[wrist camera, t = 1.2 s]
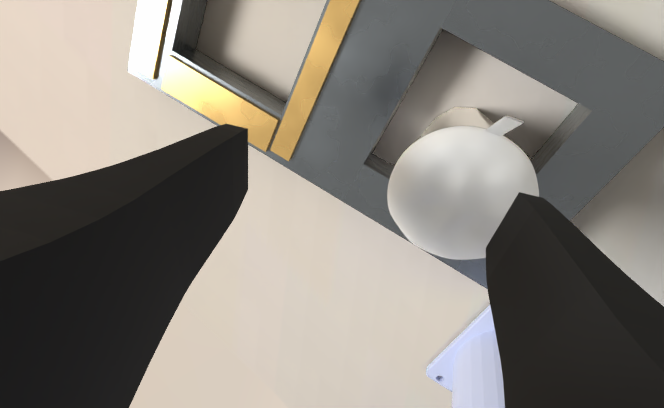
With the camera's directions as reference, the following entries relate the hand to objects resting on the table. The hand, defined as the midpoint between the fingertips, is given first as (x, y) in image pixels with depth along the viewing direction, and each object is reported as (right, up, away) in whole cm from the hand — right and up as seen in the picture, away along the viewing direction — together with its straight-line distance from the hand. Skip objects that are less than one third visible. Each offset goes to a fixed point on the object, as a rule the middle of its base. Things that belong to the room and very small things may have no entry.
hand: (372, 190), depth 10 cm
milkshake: (+6, +3, +9) cm, 11 cm away
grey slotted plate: (0, +6, +9) cm, 11 cm away
